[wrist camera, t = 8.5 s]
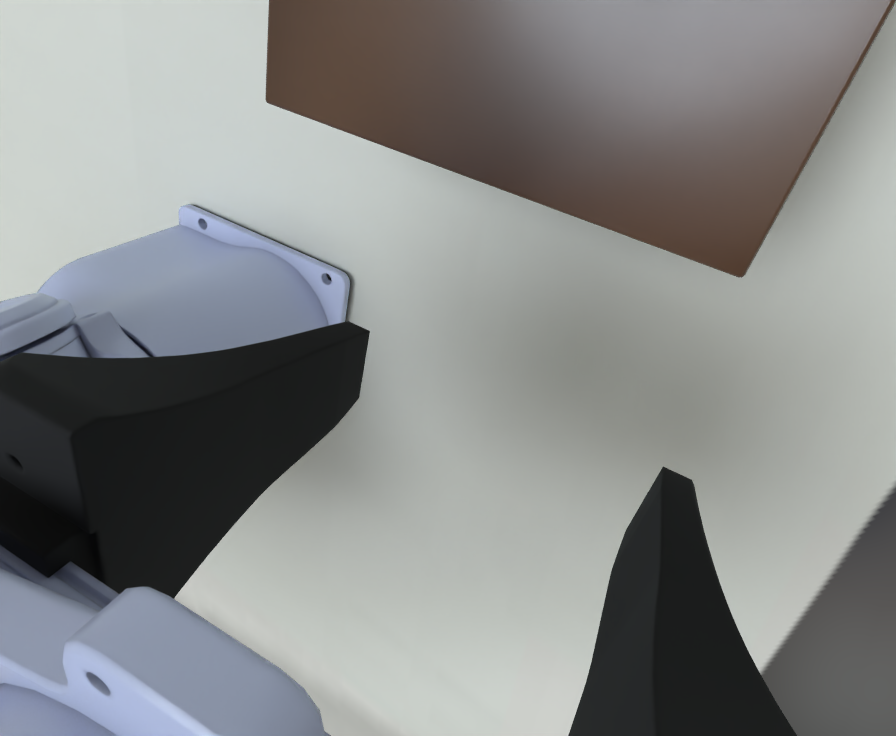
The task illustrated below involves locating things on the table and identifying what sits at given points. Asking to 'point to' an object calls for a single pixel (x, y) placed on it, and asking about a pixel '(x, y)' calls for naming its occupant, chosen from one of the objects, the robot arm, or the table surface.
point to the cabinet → (589, 100)
